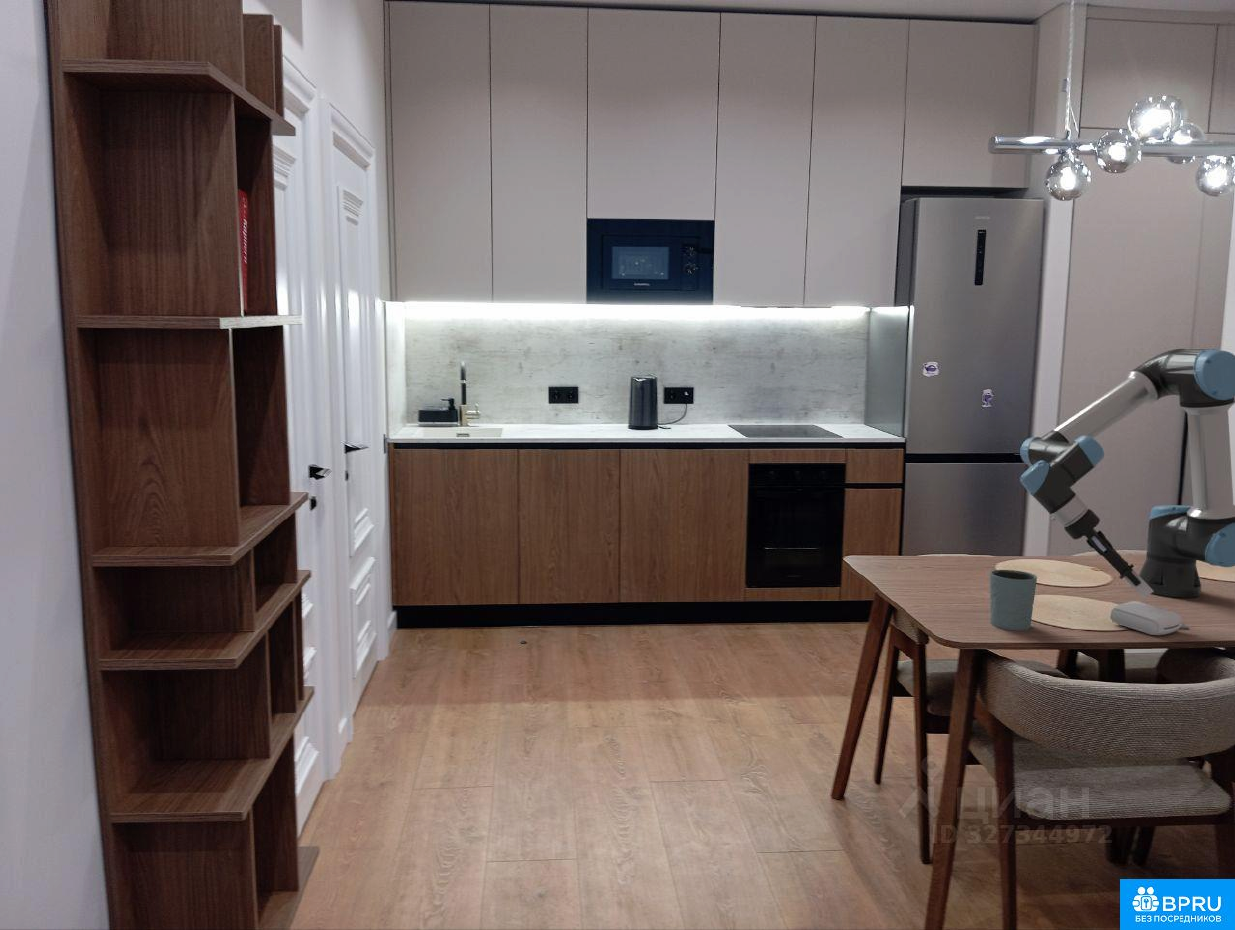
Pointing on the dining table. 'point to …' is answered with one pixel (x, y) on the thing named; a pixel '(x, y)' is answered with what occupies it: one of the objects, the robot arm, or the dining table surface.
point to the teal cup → (1012, 599)
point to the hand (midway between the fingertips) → (1148, 594)
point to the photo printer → (1146, 618)
